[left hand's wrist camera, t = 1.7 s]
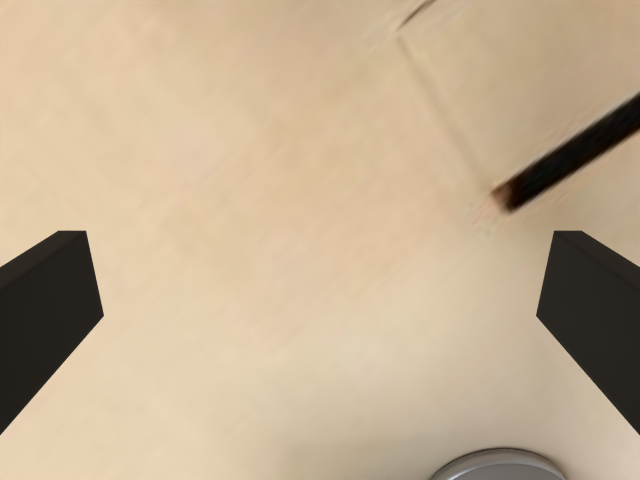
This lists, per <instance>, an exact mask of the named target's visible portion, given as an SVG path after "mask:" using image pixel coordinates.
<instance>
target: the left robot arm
mask: <svg viewBox="0 0 640 480" xmlns="http://www.w3.org/2000/svg"><path fill="white" fill-rule="evenodd" d="M103 316H104V314H103V309H102V304H101V300H100V295H99V290H98V285H97V281H96V276H95V271H94V267H93V262H92V257H91V252H90V248H89V243H88V238H87V234H86V231H57V232H56V233H54V234H53V235H51V236H49V237H48V238H46V239H45V240H43V241H41V242H40V243H38V244H37V245H35V246H33V247H32V248H30V249H29V250H27V251H25V252H24V253H22V254H21V255H19V256H17V257H16V258H14V259H13V260H11V261H9V262H8V263H6V264H5V265H3V266H1V267H0V435H1V434H2V433H3V432H4V430H5V429H6V428H7V427H8V426H9V425H10V423H11V422H12V421H13V420H14V419H15V418H16V417H17V415H18V414H19V413H20V412H21V411H22V410H23V408H24V407H25V406H26V405H27V404H28V403H29V402H30V400H31V399H32V398H33V397H34V396H35V395H36V393H37V392H38V391H39V390H40V389H41V388H42V387H43V385H44V384H45V383H46V382H47V381H48V380H49V379H50V377H51V376H52V375H53V374H54V373H55V372H56V370H57V369H58V368H59V367H60V366H61V365H62V364H63V362H64V361H65V360H66V359H67V358H68V357H69V355H70V354H71V353H72V352H73V351H74V350H75V349H76V347H77V346H78V345H79V344H80V343H81V342H82V340H83V339H84V338H85V337H86V336H87V335H88V334H89V332H90V331H91V330H92V329H93V328H94V327H95V326H96V324H97V323H98V322H99V321H100V320H101V319H102V317H103ZM536 316H537V317H538V319H539V320H540V321H541V322H542V323H543V324H544V326H545V327H546V328H547V329H548V330H549V331H550V332H551V334H552V335H553V336H554V337H555V338H556V339H557V340H558V342H559V343H560V344H561V345H562V346H563V347H564V349H565V350H566V351H567V352H568V353H569V354H570V355H571V357H572V358H573V359H574V360H575V361H576V362H577V364H578V365H579V366H580V367H581V368H582V369H583V370H584V372H585V373H586V374H587V375H588V376H589V377H590V379H591V380H592V381H593V382H594V383H595V384H596V385H597V387H598V388H599V389H600V390H601V391H602V392H603V393H604V395H605V396H606V397H607V398H608V399H609V400H610V402H611V403H612V404H613V405H614V406H615V407H616V408H617V410H618V411H619V412H620V413H621V414H622V415H623V417H624V418H625V419H626V420H627V421H628V422H629V423H630V425H631V426H632V427H633V428H634V429H635V430H636V432H637V433H638V434H639V435H640V267H639V266H637V265H635V264H634V263H632V262H631V261H629V260H627V259H626V258H624V257H623V256H621V255H619V254H618V253H616V252H615V251H613V250H611V249H610V248H608V247H607V246H605V245H603V244H602V243H600V242H599V241H597V240H595V239H594V238H592V237H591V236H589V235H587V234H586V233H584V232H583V231H554V234H553V238H552V243H551V248H550V252H549V257H548V262H547V267H546V271H545V276H544V281H543V285H542V290H541V295H540V300H539V304H538V309H537V314H536ZM430 480H566V479H565V477H564V475H563V474H562V473H561V471H560V470H559V469H558V468H557V467H556V466H555V465H554V464H553V463H551V462H550V461H548V460H547V459H545V458H543V457H541V456H539V455H536V454H533V453H530V452H526V451H521V450H513V449H495V450H487V451H481V452H477V453H473V454H470V455H467V456H464V457H462V458H460V459H457V460H455V461H453V462H451V463H450V464H448V465H446V466H445V467H443V468H442V469H441V470H439V471H438V472H437V473H436V474H435V475H434V476H433V477H432V478H431V479H430Z"/></svg>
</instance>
